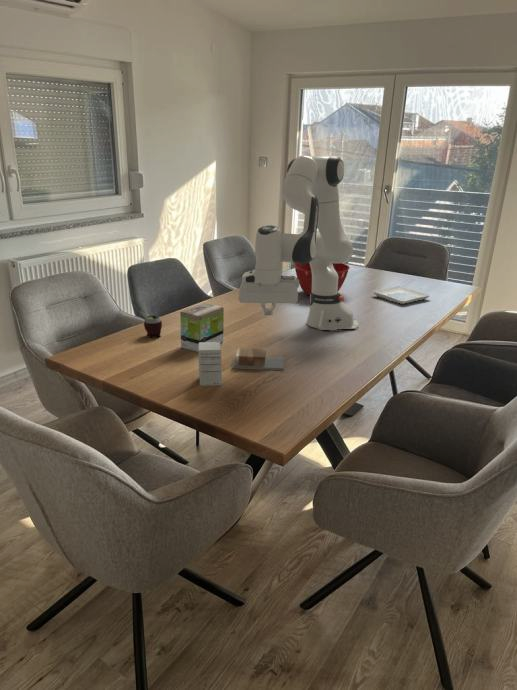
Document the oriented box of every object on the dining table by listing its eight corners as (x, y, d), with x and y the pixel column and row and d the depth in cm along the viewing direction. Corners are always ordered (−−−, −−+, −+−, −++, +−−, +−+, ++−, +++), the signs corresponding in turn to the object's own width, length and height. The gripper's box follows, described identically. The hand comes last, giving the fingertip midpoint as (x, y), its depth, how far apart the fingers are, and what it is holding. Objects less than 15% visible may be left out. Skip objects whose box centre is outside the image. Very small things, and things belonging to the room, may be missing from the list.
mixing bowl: (356, 292, 281) (358, 264, 276) (333, 305, 259) (335, 274, 253) (308, 284, 295) (309, 257, 290) (283, 296, 273) (283, 266, 267)
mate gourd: (141, 337, 214) (139, 301, 208) (152, 331, 220) (150, 296, 215) (157, 340, 211) (155, 304, 206) (167, 334, 218) (166, 298, 212)
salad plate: (430, 301, 270) (431, 294, 268) (402, 307, 258) (403, 300, 257) (398, 291, 286) (399, 285, 285) (370, 297, 274) (371, 290, 273)
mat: (284, 359, 194) (284, 357, 194) (283, 370, 185) (283, 368, 184) (235, 357, 195) (235, 355, 195) (232, 368, 186) (232, 366, 185)
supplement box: (199, 376, 179) (198, 341, 174) (221, 376, 180) (221, 341, 175) (199, 386, 172) (197, 350, 168) (222, 385, 173) (221, 349, 168)
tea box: (201, 353, 199) (200, 315, 193) (180, 348, 204) (178, 311, 198) (224, 341, 211) (224, 306, 205) (204, 336, 216) (203, 301, 210)
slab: (265, 348, 192) (238, 347, 193) (264, 357, 185) (235, 356, 185) (265, 357, 193) (238, 356, 194) (264, 366, 186) (235, 365, 186)
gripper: (299, 273, 180) (298, 312, 186) (239, 273, 182) (240, 311, 187) (299, 278, 175) (298, 318, 180) (237, 277, 176) (238, 317, 181)
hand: (268, 314), depth 183 cm, fingers closed
